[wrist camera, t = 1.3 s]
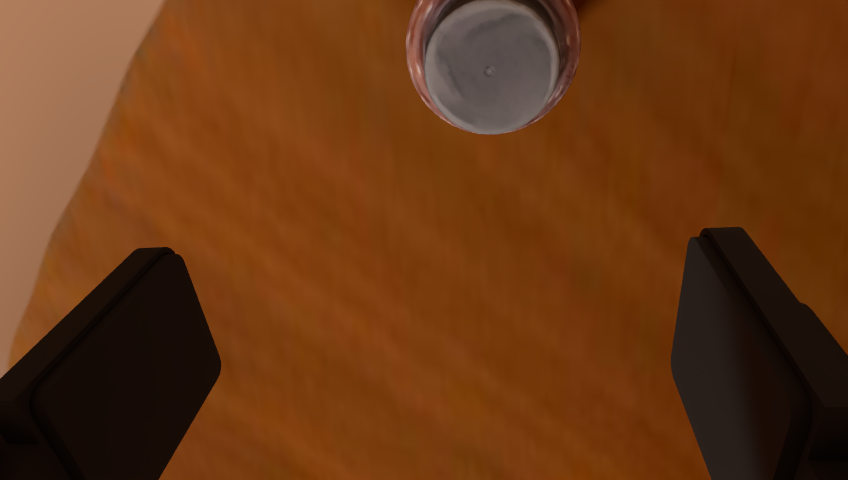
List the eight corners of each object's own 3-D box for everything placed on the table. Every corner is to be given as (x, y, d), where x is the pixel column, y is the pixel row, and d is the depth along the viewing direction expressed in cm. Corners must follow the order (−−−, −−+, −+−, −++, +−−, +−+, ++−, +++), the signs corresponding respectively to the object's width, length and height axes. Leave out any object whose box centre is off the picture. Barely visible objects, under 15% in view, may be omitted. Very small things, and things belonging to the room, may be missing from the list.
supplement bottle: (491, 102, 28) (485, 202, 19) (403, 14, 27) (346, 74, 17) (587, 10, 26) (638, 71, 16) (496, -94, 24) (491, -95, 14)
